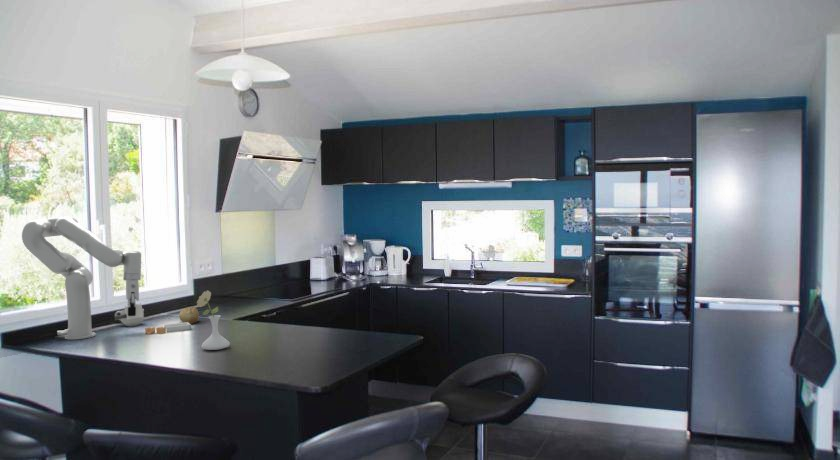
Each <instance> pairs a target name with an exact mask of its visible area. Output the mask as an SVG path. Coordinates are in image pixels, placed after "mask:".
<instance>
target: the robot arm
mask: <svg viewBox="0 0 840 460" xmlns="http://www.w3.org/2000/svg"><path fill="white" fill-rule="evenodd" d="M59 236H60V237H61V236H62V237H64V238H65V239H67V240H68V241H70V242H72V243H73V244H75V245H76V246H78V247H80V248H81V249H82V250H83V251H85V252H86V253H88V254H89V255H90V256H92V257H93V258H94V259H96V260H97V261H99V262H100V263H102V264H104V265H105V266H107V267H110V268H116V267H119V266H123V281H125V297H126V301H127V306H128V305H129V307H128V316H135V315H136V307H135V304H136V301H137V302H138V301H140V294H139V293H140V290H139V289H140V287H139V286H140V284H139V281H141V278H142V277H141V276H142V253H141V252H140V251H139V250H126V251H125V250H119V249H117V250H115V249H113V248H111V247H109V246H108V245H106V244H105V243H103V242H102V241H101V239H99V237H98V236H97V235H96V234H95V233H94V232H93V231H91V230H89V229H88V228H87V227H84V226H83V225H82V224H80V223H79V221H78V220H77V219H76V218H75V217H73V216H63V217H58V218H57V217H55V218H54V217H53V218H44V219H33V220H30V221H28V222H26V224H25V225H24V226H23V229H22V232H21V240H22V243H23V245H24V247H25V248H26V249H27V251H28V252H30V253H31V255H32V256H34V257H35V258H36V259H38V260H39V261H40V263H42V264H43V265H44V266H46V267H47V269H49V270H50V271H51V272H52V273H53V274H56V275H62V276H63V277H64V278H65V279H64V286H65V287H64V288H65V291H66V292H65V294H66V307H67V329H64V330H57V331H56V332H57V333H56V334H57V336H64V339H65V340H83V339H89V338H93V337H95V336H96V335H97V334H96V332H94V331H92V330H93V329H92V307H91V306H92V305H91V294H90V293H91V292H90V285H91V284H92V282H93V274H92V271H90V270H89V269H88V268H87V267H86V266H85V265H83V264H82V262H80V261H79V260H78V259H77V258H75V257H74V255H72V254H70V253H67V252H61V251H60V250H59V249H58V248H56V247H55V246H54V245H53V244H52V243H51V242H49V241H48V240H47V239H46V238H51V237H59Z"/></svg>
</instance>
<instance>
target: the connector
mask: <svg viewBox="0 0 840 460" xmlns="http://www.w3.org/2000/svg"><path fill="white" fill-rule="evenodd" d="M142 306H143V305H142V304H141V303H135V307H136V315H135V316H128V307H129V305H128V304H127V305H124V308H125V309H124V310H125V312H126V314H124V315H121V314H117V316H115V315H114V320H115V321H117V320H118V319H123V318H127V320H128V319H134V318H139V317H143V312H142V309H143V307H142ZM118 321H119V320H118Z"/></svg>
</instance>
